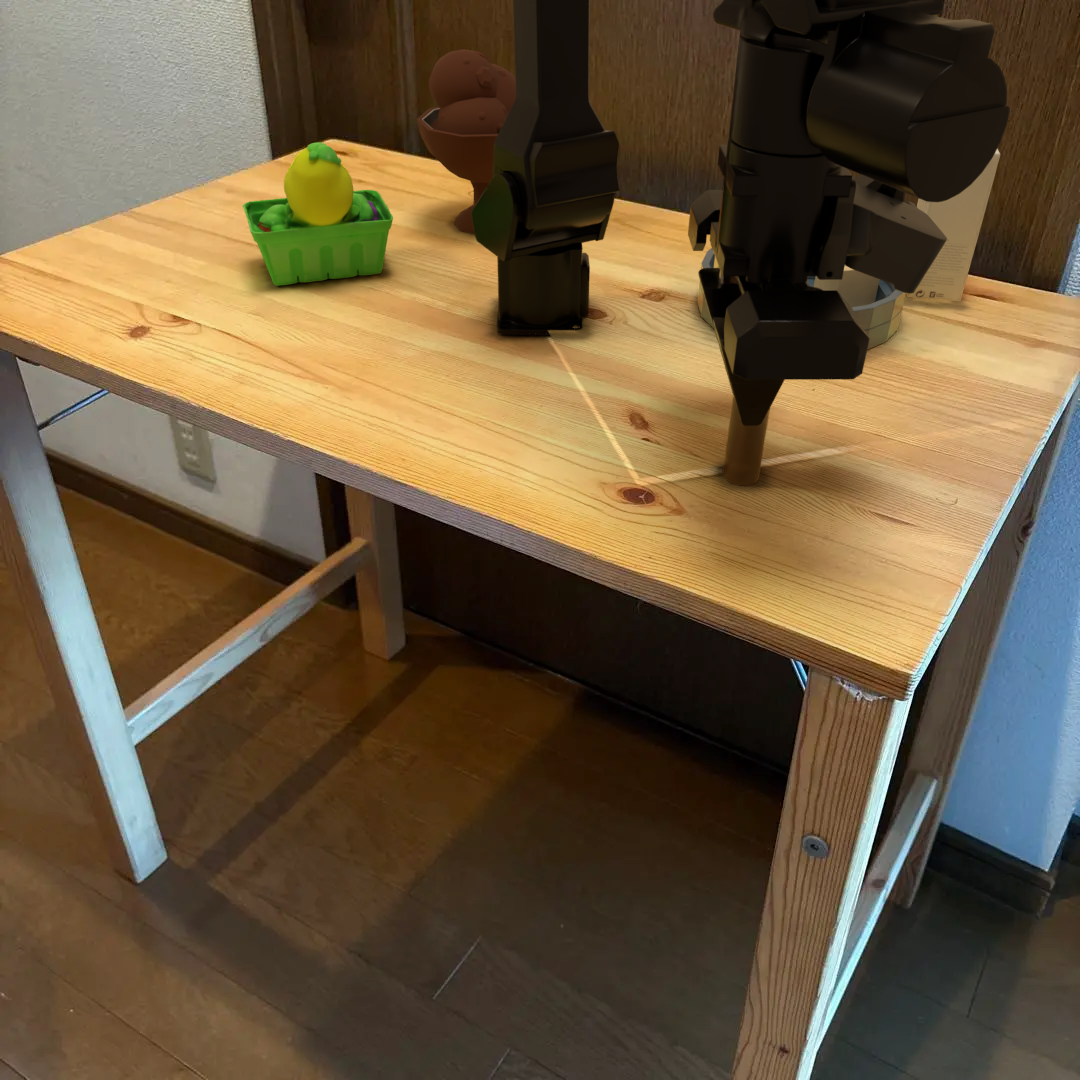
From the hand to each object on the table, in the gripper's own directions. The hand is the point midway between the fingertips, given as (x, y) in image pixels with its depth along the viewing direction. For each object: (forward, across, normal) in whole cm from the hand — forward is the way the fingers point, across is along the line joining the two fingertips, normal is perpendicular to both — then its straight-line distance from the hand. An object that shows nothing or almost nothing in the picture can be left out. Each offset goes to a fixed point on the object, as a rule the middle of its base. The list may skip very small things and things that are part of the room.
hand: (747, 413), depth 61 cm
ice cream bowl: (+5, +42, +17) cm, 45 cm away
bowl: (+4, +22, -8) cm, 24 cm away
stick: (+4, 0, 0) cm, 4 cm away
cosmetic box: (+5, +27, -20) cm, 34 cm away
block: (+4, +23, -12) cm, 27 cm away
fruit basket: (+5, +31, +30) cm, 43 cm away
